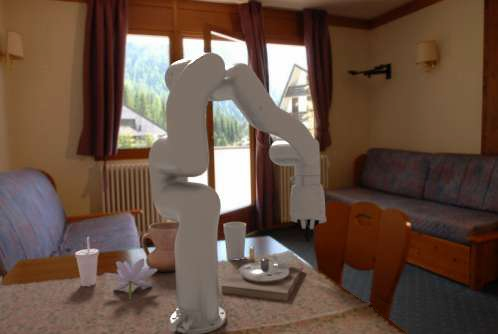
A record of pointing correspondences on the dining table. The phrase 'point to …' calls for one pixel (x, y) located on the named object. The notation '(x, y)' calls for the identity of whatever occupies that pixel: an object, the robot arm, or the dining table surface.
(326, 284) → the dining table surface
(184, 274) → the robot arm
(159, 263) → the ceramic jug
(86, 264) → the smoothie
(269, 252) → the dining table surface
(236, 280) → the base board
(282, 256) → the flange plate
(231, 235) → the cup
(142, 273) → the water lily
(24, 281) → the dining table surface
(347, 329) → the dining table surface
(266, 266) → the post and dowel
